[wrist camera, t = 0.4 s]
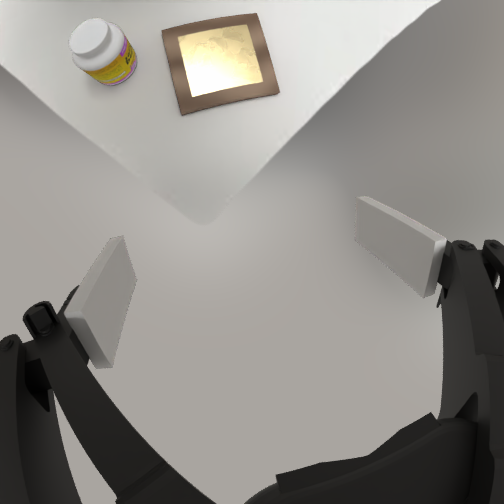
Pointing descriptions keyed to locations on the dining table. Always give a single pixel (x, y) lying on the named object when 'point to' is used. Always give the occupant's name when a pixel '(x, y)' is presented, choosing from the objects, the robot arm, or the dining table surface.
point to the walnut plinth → (219, 62)
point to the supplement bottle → (102, 51)
